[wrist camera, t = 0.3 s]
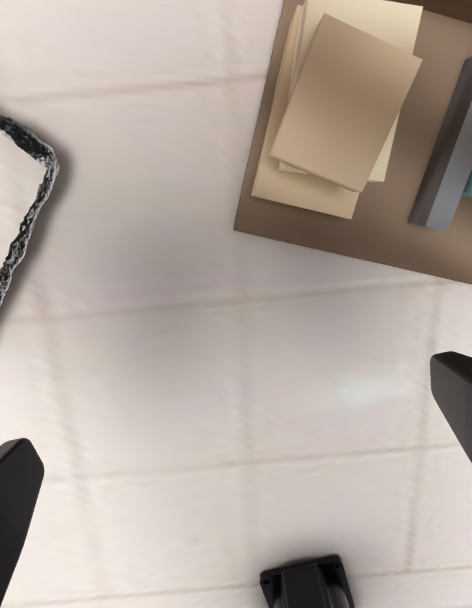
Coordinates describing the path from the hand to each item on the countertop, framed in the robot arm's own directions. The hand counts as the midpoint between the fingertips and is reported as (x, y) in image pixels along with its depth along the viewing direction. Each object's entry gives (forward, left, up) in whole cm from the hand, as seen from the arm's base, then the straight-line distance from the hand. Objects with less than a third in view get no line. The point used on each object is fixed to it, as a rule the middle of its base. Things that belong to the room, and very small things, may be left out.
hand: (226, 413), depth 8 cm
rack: (+4, -11, -15) cm, 19 cm away
